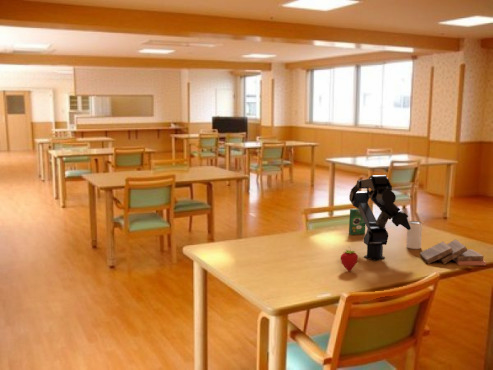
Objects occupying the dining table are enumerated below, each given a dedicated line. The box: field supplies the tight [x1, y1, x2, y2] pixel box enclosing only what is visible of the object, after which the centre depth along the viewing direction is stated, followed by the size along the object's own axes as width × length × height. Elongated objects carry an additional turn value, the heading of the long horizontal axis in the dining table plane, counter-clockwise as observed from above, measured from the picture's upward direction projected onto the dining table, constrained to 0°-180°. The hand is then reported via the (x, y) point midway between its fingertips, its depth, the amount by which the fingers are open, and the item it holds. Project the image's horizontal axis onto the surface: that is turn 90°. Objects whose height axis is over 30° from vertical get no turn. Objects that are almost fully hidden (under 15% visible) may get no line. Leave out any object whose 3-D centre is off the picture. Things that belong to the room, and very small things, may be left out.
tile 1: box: [419, 241, 453, 265], centre depth 211 cm, size 2×10×11 cm
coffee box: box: [348, 208, 366, 236], centre depth 254 cm, size 8×3×13 cm, turn 103°
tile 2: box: [438, 239, 468, 265], centre depth 211 cm, size 2×10×11 cm
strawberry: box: [340, 246, 359, 272], centre depth 197 cm, size 6×8×10 cm
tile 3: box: [454, 248, 484, 261], centre depth 211 cm, size 2×10×11 cm
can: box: [406, 220, 423, 250], centre depth 230 cm, size 6×6×12 cm
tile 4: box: [451, 259, 487, 266], centre depth 210 cm, size 2×10×11 cm
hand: (409, 229), depth 210 cm, fingers closed
